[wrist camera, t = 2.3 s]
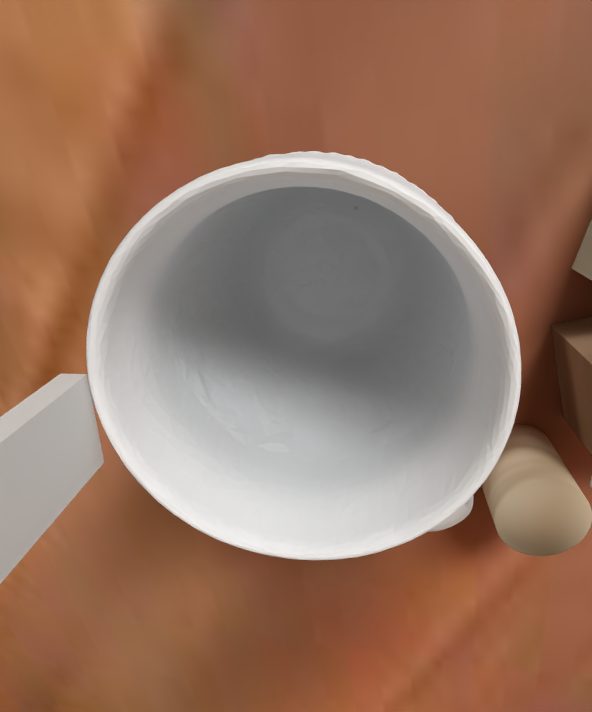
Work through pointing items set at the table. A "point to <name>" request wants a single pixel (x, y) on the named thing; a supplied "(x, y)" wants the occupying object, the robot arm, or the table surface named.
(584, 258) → the sage block
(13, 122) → the table surface
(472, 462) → the mug
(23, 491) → the robot arm
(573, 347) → the walnut block
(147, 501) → the table surface
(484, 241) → the table surface
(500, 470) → the beech cylinder
